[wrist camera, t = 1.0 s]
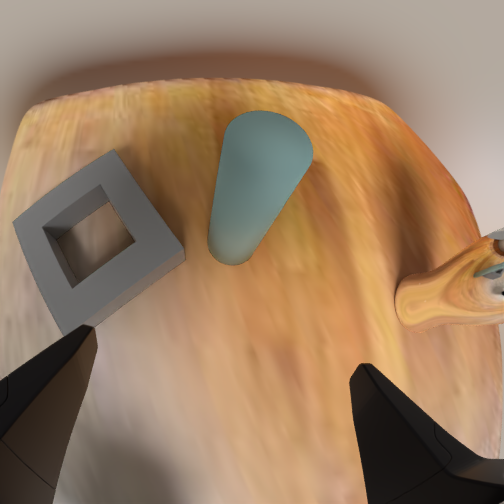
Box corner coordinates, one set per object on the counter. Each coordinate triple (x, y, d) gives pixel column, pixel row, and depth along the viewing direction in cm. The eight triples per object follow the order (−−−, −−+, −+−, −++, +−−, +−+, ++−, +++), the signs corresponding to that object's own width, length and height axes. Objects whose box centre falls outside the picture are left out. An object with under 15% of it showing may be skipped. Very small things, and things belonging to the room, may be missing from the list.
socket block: (185, 260, 23) (184, 248, 20) (79, 338, 19) (64, 337, 16) (120, 167, 24) (113, 148, 22) (27, 234, 21) (12, 222, 18)
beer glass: (426, 264, 28) (535, 211, 14) (443, 323, 26) (558, 295, 12) (382, 279, 26) (509, 220, 12) (400, 347, 24) (536, 329, 10)
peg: (264, 246, 25) (329, 156, 12) (227, 274, 23) (265, 197, 11) (235, 211, 25) (272, 101, 13) (197, 236, 24) (205, 131, 12)
